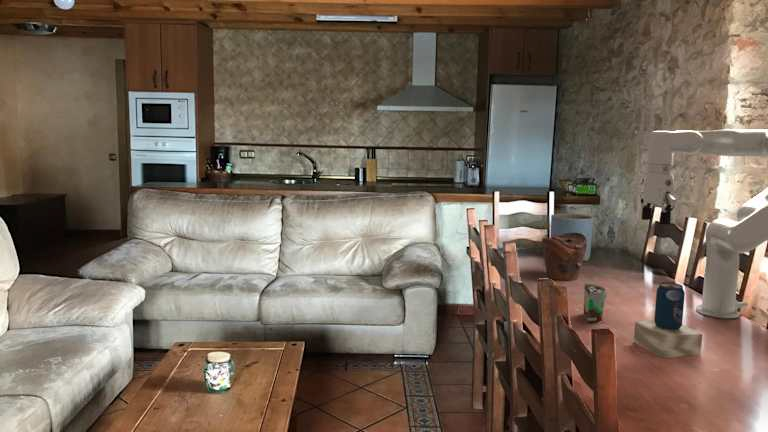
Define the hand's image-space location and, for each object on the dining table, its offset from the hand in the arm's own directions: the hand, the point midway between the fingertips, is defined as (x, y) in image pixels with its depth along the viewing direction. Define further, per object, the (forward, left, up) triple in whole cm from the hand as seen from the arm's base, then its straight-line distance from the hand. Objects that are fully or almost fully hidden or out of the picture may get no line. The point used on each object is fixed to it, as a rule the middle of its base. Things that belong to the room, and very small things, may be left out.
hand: (655, 221), depth 193 cm
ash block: (+16, +32, -30) cm, 47 cm away
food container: (+22, +5, -31) cm, 38 cm away
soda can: (+16, +32, -24) cm, 43 cm away
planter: (-14, -82, -31) cm, 89 cm away
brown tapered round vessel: (+7, -48, -31) cm, 57 cm away
